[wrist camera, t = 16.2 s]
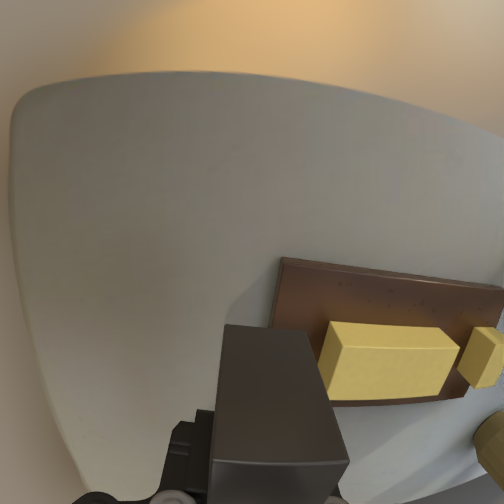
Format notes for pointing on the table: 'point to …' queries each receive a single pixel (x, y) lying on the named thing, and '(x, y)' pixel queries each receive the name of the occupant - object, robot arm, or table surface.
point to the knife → (272, 422)
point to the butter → (384, 361)
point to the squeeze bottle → (491, 447)
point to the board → (382, 309)
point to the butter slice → (483, 357)
